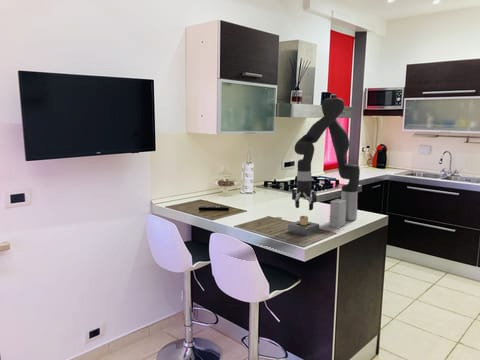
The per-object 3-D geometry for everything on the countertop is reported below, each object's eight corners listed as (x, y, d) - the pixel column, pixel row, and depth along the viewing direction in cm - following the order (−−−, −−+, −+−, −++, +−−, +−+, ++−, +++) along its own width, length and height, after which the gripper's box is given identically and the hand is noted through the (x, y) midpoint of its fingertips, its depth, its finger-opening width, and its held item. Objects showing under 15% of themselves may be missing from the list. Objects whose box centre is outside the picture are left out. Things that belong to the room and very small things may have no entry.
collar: (300, 227, 216) (300, 220, 216) (319, 231, 208) (319, 224, 207) (287, 231, 208) (287, 224, 207) (306, 236, 200) (306, 228, 199)
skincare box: (336, 223, 223) (337, 198, 221) (346, 225, 219) (346, 199, 217) (329, 226, 217) (329, 200, 215) (338, 228, 213) (339, 202, 211)
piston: (302, 229, 211) (302, 215, 210) (309, 231, 208) (309, 216, 207) (298, 231, 208) (298, 216, 207) (304, 233, 205) (305, 218, 204)
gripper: (319, 179, 201) (319, 209, 204) (297, 176, 211) (297, 205, 214) (311, 181, 196) (311, 212, 199) (289, 178, 206) (289, 208, 208)
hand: (304, 208), depth 206 cm, fingers open, 8 cm apart
